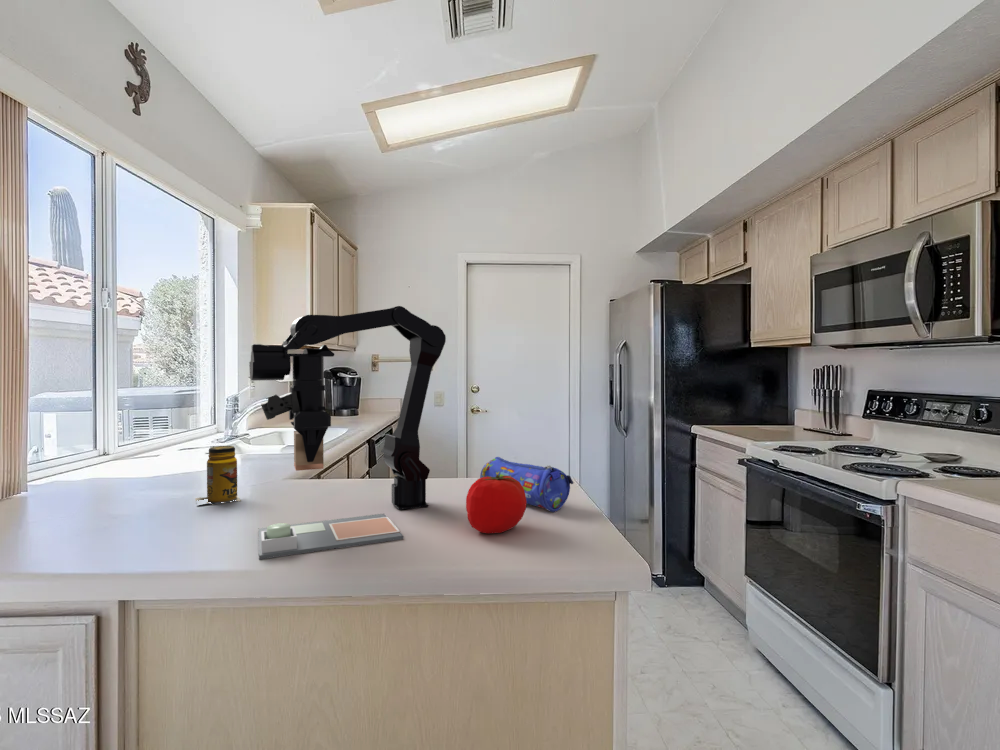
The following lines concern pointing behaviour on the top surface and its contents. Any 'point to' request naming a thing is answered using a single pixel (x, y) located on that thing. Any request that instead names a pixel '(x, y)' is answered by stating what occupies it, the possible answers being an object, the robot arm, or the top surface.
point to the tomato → (495, 504)
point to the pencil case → (534, 482)
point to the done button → (278, 531)
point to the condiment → (221, 475)
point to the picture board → (329, 535)
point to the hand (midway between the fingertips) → (308, 459)
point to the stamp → (300, 455)
